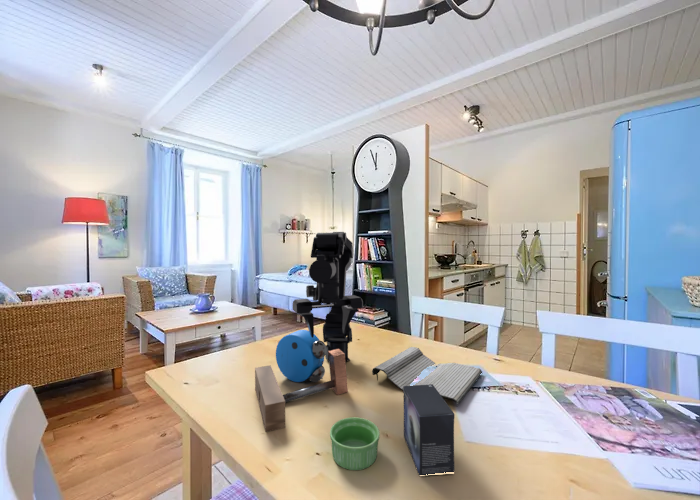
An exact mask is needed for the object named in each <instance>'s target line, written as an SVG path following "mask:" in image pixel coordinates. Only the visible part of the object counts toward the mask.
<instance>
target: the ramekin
mask: <svg viewBox="0 0 700 500" xmlns="http://www.w3.org/2000/svg"><path fill="white" fill-rule="evenodd" d="M329 436H330V442H331V453H332V454H331V455H332V458H333V461H334V462H335V463H336V464H337V465H338V466H340V467H341V468H342V469H346V470H350V471H359V470H360V471H361V470H364V469H367V468H369V467H370V465H371V466H372V465H373V464H374V463H375V461H376V460H377V459H376V458H377V457H378V456H377V455H378V447H379V446H378V445H379V440H380V429H379V427H378V426H377V425H376V424H375V423H374V422H373V421H371V420H369V419H366V418H364V417H354V416H353V417H346V418H342V419H340V420H338V421H336V422H335V423H334V424H333V425H332V426H331V427H330V431H329Z"/></svg>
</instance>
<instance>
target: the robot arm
mask: <svg viewBox="0 0 700 500" xmlns="http://www.w3.org/2000/svg"><path fill="white" fill-rule="evenodd" d="M310 252H311V253H310V258H311V259H312V258H313V259H316V260H315V261H313V262H311V264H310V265H309V268H308V274H309V278H310V279H311V280H312V281H314V283H316V287H315V286H314V285H313V284H310V285H306V288H305V289H306V290H305V292H306V293H305V294H306V298H298V299H294V300H293V301H292V310H293V312H295V314H297V315H298V314H299V315H300V316H301V318H302V317H303V319H304V320H305V323H306V325H307V328H308V331H309V332H310V335H311V337H312V338H313V337H314V334H315V328H314V327H315V326H314V324H315V323H314V322H315V321H314V313H313V312H312V311H313V309H322V308H331V309H330V311H329V312H328V313H326V316H325V321H324V323H323V325H322V337H323V338H322V339H323V342H324V343H326V344H325V345H326V348H327V352H326V355H325V356H324V358H326V360H327V361H328V362H329V355H328V351H331V350H335V349H340V350H341V351H342V352H343V353H345V363H346V362H350V361H351V359H350V358H349V344H350V343H351V342H353V329H352V327H351V325H350V323H351V321H352V319H353V317H354V316H355V314H356V313H357V312H359V311H360V310H359V309H363V308H364V301H363V299H362V298H361V296H357V295H355V294H352V295H351V294H350V295H346V287H347V286H346V283H347V282H346V281H347V271H348V269H349V268H350V266H351V265H352V259H354V245H353V242H352V240H350V239H349V237H347V233H346V232H344V231H333V232H317V233H316V234H315V236H314V237H313V241H312V246H311V251H310ZM308 298H312V301H311V300H310V299H308Z"/></svg>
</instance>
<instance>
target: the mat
mask: <svg viewBox="0 0 700 500" xmlns="http://www.w3.org/2000/svg"><path fill="white" fill-rule="evenodd" d="M434 364H435V365H436V362H435V361H433V360H432V359H431V358H429V357H428V356H427V355H425V354H424V353H423V352H422V350H421V349H420V348H419V347H415V346H409V347H408V348H406V349H405V350H403V351H401V352H399V353H398V354H396V355H394V356H393V357H391V358H389V359H387V360H385V361H384V362H382V363H380V364H378V365H377V366H374V367H373V368H372V369H371V370H372V371H371V372H372V373H371V374H372V375H373V376H375V375H376V381H377V382H378V381H379V375H378V374H379V373H380V372H383V373H384V374H385V376H386V378H387V379H388V380H390V382H391V383H393V384H394V385H395V386H396V387H397V388H398V389H401V390H402V391H403V386H410V384H411V383H412V382H413V381H414V379H416V378H417V376H419V375H420V374H421V372H422V371H423V370H424V369H426V368H427V367H429V366H432V365H434ZM435 365H434V366H435ZM437 365H438V367H437V368H436V369H435V370H434V371H433V372H431V373H430V374H429V375H428V376H426V377H425V378H424V379H422V380H421V381H419V382H418V383H416V384H415V385H430V384H433V386H434V387H435V388H436V390H437V391H438V392H439V394H440V395H441V396H442V398H446V399H448V400H451V401H455V403H456V404H457V405H458V406H459V404H460V403H461V401H462V400H463V399H464V398H465V396H466V395H467V394H468V393H469V391H470V390H471V389H472V387H473V386H474V385H473V384H475V383H476V382H477V381H478V380H479V378H480V377H481V376H480V374H481V373H482V372H483V371H482V369H480V368H479V367H475V366H470V365H465V364H461V363H456V362H448V363H438V364H437ZM482 374H483V373H482ZM479 376H480V377H479ZM478 377H479V378H478ZM477 379H478V380H477ZM476 380H477V381H476ZM457 405H456V406H457Z"/></svg>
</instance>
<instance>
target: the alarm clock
mask: <svg viewBox="0 0 700 500" xmlns="http://www.w3.org/2000/svg"><path fill="white" fill-rule="evenodd" d="M326 345H327V344H325V342H324V341H322V340H320V339H319V337H318V336H317V335H316V334H315V333H314V337H313V338H312V337H311V335H310V332H309V330H307V329H300V330H299V329H298V330H296V331H294V332H291V333H289V334H286V335H284V336H283V337H282V338H280V340H279V341H278V343H277V345H276V350H275V359H276V364H277V367H278V369H279V371H280V373H282V375H283V376H284V377H285V378H286V379H288V380H289V381H290V382H293V383H302V382H305V381H307V380H308V379H309V381H310V382H312V383H317V382H318V383H319V382H320V381H321V380H323V379H324V376H325V373H326V369H325V367H324V366H323V365H324V363H325V356H326V352H327V348H326Z"/></svg>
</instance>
